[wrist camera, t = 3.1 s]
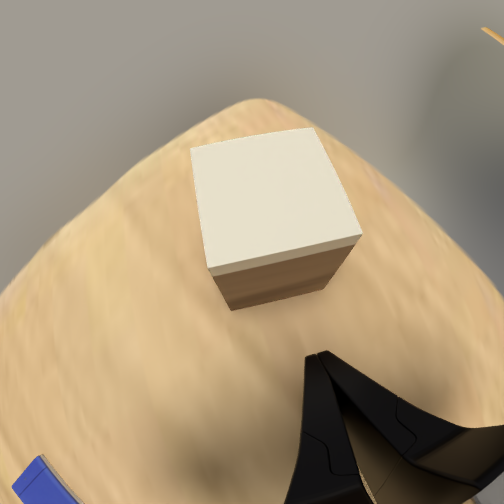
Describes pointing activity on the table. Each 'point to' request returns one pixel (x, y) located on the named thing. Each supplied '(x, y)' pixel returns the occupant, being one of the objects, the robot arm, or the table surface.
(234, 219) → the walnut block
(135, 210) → the table surface
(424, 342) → the table surface
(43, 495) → the hard drive
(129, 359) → the table surface
